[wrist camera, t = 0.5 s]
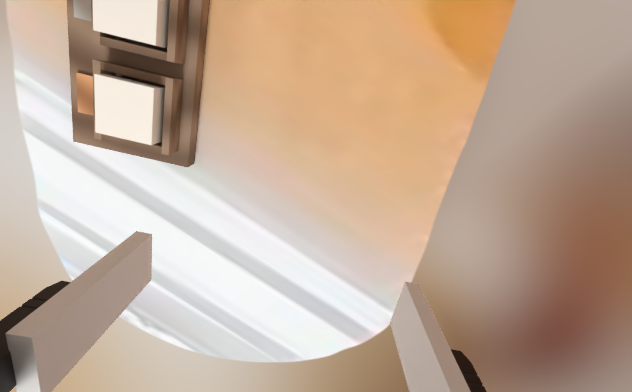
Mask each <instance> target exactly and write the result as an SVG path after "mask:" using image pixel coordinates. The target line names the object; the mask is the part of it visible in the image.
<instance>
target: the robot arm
mask: <svg viewBox="0 0 632 392" xmlns="http://www.w3.org/2000/svg"><path fill="white" fill-rule="evenodd" d="M151 263H152V234H148V233H143V232H137V231H136V232H135V233H134V234H133V235H131V236H130V237H129V238H127V239H126V240H125V241H124V242H122V243H121V244H120V245H118V246H117V247H116V248H115V249H113V250H112V251H111V252H109V253H108V254H107V255H106V256H104V257H103V258H102V259H100V260H99V261H98V262H97V263H95V264H94V265H93V266H91V267H90V268H89V269H88V270H86V271H85V272H84V273H82V274H81V275H80V276H78V277H77V278H76V279H75V280H73V281H72V282H65V281H60V282H58V283H56V284H53V285H51V286H49V287H46V288H45V289H43V290H42V291H41V292H39V293H38V294H37V295H35V296H34V297H33V298H32V299H30V300H28V301H27V302H25V303H24V304H23V305H22V307H19V308H17V309H16V310H14V311H13V312H12V313H10V314H9V315H8V316H6V317H5V318H4V319H2V320H1V321H0V392H9V391H11V390H12V389H13V388H14V387H15V386H16V389H17V392H52V391H53V389H54V388H55V387H56V386H57V385H58V384H59V383H60V382H61V380H62V379H63V378H64V377H65V376H66V375H67V374H68V373H69V371H70V370H71V369H72V368H73V367H74V366H75V365H76V364H77V362H78V361H79V360H80V359H81V358H82V357H83V356H84V355H85V353H86V352H87V351H88V350H89V349H90V348H91V347H92V346H93V345H94V343H95V342H96V341H97V340H98V339H99V338H100V337H101V335H102V334H103V333H104V332H105V331H106V330H107V329H108V328H109V327H110V325H111V324H112V323H113V322H114V321H115V320H116V319H117V318H118V316H119V315H120V314H121V313H122V312H123V311H124V310H125V309H126V307H127V306H128V305H129V304H130V303H131V302H132V301H133V300H134V298H135V297H136V296H137V295H138V294H139V293H140V292H141V291H142V289H143V288H144V287H145V286H146V285H147V284H148V283H149V282H150V280H151ZM390 324H391V327H392V331H393V335H394V338H395V342H396V345H397V349H398V353H399V356H400V359H401V363H402V367H403V370H404V374H405V378H406V381H407V384H408V388H409V392H486V390H485V388H484V387H483V386H482V382H481V380H480V378H479V377H478V376H477V373H476V371H475V369H474V368H473V365H472V364H471V362H470V361H469V360H468V359H467V357H466V356H465V355H464V354H463V353H462V352H461V351H456V350H451V349H450V347H449V345H448V343H447V341H446V339H445V337H444V335H443V333H442V331H441V329H440V327H439V325H438V322H437V320H436V318H435V316H434V314H433V312H432V310H431V308H430V306H429V304H428V302H427V300H426V298H425V295H424V293H423V291H422V289H421V287H420V285H419V284H414V283H409V282H405V283H404V286H403V289H402V292H401V294H400V297H399V300H398V303H397V305H396V308H395V311H394V314H393V316H392V319H391V322H390Z"/></svg>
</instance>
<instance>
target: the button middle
mask: <svg viewBox="0 0 632 392" xmlns="http://www.w3.org/2000/svg"><path fill="white" fill-rule="evenodd" d="M169 8H170V0H93V30H94V31H99V32H103V33H107V34H111V35H115V36H119V37H123V38H127V39H131V40H135V41H139V42H143V43H147V44H151V45H155V46H159V47H163V48H167V45H168V26H169Z"/></svg>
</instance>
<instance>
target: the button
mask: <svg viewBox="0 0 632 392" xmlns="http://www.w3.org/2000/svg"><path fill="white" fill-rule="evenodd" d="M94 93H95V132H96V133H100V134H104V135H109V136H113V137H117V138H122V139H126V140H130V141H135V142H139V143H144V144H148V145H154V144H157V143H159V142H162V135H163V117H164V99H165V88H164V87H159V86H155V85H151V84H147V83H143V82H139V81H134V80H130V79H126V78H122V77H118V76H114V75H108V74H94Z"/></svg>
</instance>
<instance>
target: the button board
mask: <svg viewBox="0 0 632 392" xmlns="http://www.w3.org/2000/svg"><path fill="white" fill-rule="evenodd" d="M209 1H210V0H170V8H169V26H168V45H167V48H163V47H159V46H155V45H151V44H147V43H143V42H139V41H135V40H131V39H127V38H123V37H119V36H115V35H111V34H107V33H103V32H99V31H94V30H93V0H67V14H68V36H69V57H70V78H71V100H72V121H73V141H74V142H79V143H83V144H87V145H92V146H96V147H101V148H105V149H109V150H114V151H118V152H123V153H127V154H131V155H136V156H140V157H145V158H149V159H153V160H158V161H162V162H167V163H171V164H175V165H180V166H184V167H189V166H191V165H192V164H194V159H195V149H196V138H197V128H198V117H199V106H200V96H201V85H202V75H203V64H204V54H205V43H206V32H207V22H208V11H209ZM94 74H108V75H114V76H118V77H122V78H126V79H130V80H134V81H139V82H143V83H147V84H151V85H155V86H159V87H164V88H165V99H164V117H163V135H162V142H159V143H157V144H154V145H148V144H144V143H139V142H135V141H130V140H126V139H122V138H117V137H113V136H109V135H104V134H100V133H96V132H95V93H94Z"/></svg>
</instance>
